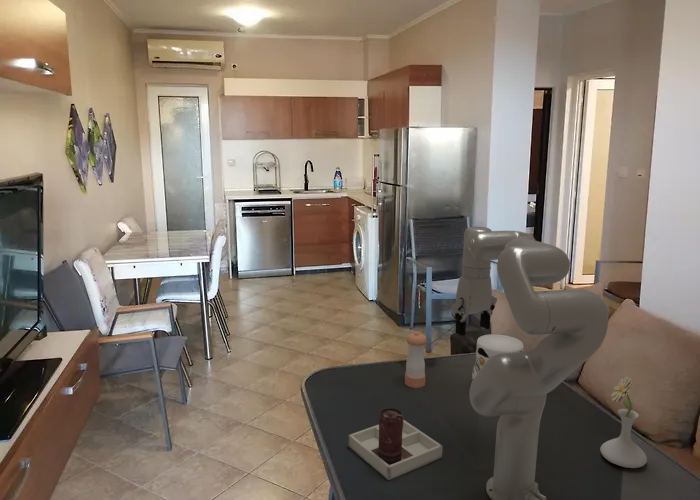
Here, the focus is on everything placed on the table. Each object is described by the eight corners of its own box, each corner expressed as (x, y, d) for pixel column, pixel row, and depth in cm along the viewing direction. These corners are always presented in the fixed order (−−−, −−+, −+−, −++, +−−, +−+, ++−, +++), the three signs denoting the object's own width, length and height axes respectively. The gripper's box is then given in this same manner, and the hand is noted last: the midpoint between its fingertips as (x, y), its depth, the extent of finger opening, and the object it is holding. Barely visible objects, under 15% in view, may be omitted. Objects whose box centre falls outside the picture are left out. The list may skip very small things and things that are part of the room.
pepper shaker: (428, 386, 189) (431, 334, 185) (410, 389, 187) (412, 337, 183) (418, 377, 196) (420, 327, 192) (401, 380, 193) (402, 330, 189)
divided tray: (442, 457, 146) (442, 445, 146) (388, 480, 136) (388, 467, 136) (399, 427, 161) (399, 417, 161) (348, 446, 151) (348, 435, 150)
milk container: (461, 384, 191) (464, 336, 187) (502, 377, 197) (505, 330, 193) (490, 406, 175) (493, 354, 171) (533, 398, 181) (538, 347, 177)
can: (401, 469, 139) (402, 420, 137) (376, 466, 141) (377, 417, 138) (403, 456, 145) (405, 408, 142) (380, 453, 146) (381, 406, 144)
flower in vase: (605, 443, 154) (615, 361, 149) (650, 458, 147) (661, 373, 142) (592, 464, 144) (602, 377, 139) (639, 481, 137) (651, 390, 132)
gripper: (487, 265, 155) (484, 322, 159) (443, 273, 146) (440, 332, 149) (508, 270, 149) (504, 329, 152) (463, 279, 140) (460, 341, 143)
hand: (472, 331), depth 151 cm, fingers open, 9 cm apart
